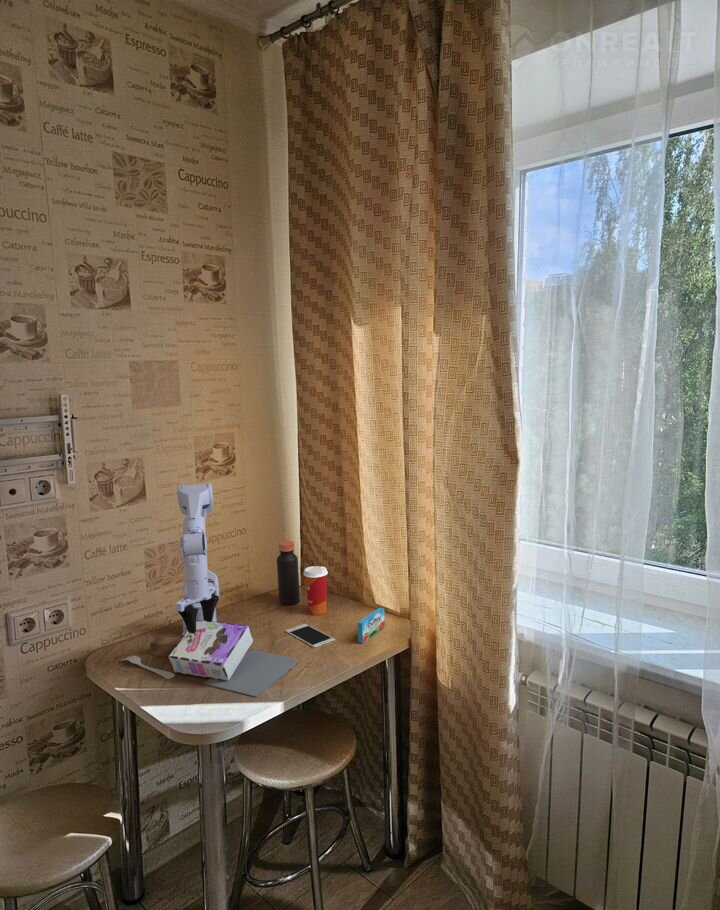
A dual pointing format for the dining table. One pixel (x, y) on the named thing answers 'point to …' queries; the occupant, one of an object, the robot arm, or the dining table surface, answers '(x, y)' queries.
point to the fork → (138, 661)
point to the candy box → (211, 650)
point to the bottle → (288, 574)
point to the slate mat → (255, 673)
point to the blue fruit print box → (371, 625)
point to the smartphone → (310, 635)
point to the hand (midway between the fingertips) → (200, 627)
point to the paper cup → (316, 589)
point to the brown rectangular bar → (163, 645)
